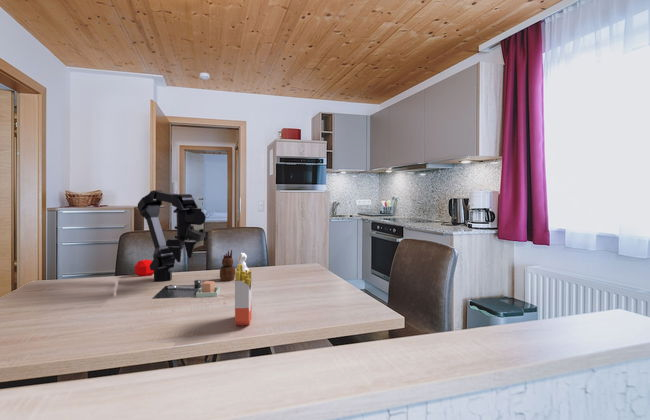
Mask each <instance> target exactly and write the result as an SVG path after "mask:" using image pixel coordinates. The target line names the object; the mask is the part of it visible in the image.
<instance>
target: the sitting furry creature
mask: <svg viewBox="0 0 650 420" xmlns="http://www.w3.org/2000/svg"><path fill="white" fill-rule="evenodd" d="M247 257H248V256H247V254H246V253H245V252H240V254H239V255H238V256H237V259H236V261H237V264H236V268H235V272H236V271H237V268H238V264H242V271H245V270H247V273H248V270H250V269H249V267H248V266H247V262H246V260H247ZM235 278H236V275H235Z"/></svg>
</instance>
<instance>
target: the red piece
mask: <svg viewBox="0 0 650 420" xmlns="http://www.w3.org/2000/svg"><path fill="white" fill-rule="evenodd" d="M152 261H153V260H151V259H148V258H147V259H141V260H138V261H137V262H136V264H135V265H134V273H135V274H136V275H137V276H138V277H141V278H142V277H151V276H154V271H153V270H150V264H151V263H152Z"/></svg>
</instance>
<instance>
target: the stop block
mask: <svg viewBox="0 0 650 420" xmlns="http://www.w3.org/2000/svg"><path fill="white" fill-rule="evenodd" d="M201 285H202V292H201V293H209V292H215V291H214V287H215V281H214V280H212V281H211V280H205V281H204V282H201Z"/></svg>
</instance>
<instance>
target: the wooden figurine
mask: <svg viewBox="0 0 650 420" xmlns="http://www.w3.org/2000/svg"><path fill="white" fill-rule="evenodd" d="M233 264H234V259H233V249H231V250H230V251H229V250H227V252H226V253H225V254H223V258H222V260H221V265H222V266H221V267H220V269H219V277H220V280H221V281H222V282H232V281H235V279H236V277H235V271H236V268H235V266H233Z"/></svg>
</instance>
